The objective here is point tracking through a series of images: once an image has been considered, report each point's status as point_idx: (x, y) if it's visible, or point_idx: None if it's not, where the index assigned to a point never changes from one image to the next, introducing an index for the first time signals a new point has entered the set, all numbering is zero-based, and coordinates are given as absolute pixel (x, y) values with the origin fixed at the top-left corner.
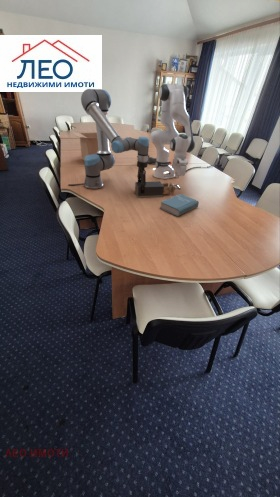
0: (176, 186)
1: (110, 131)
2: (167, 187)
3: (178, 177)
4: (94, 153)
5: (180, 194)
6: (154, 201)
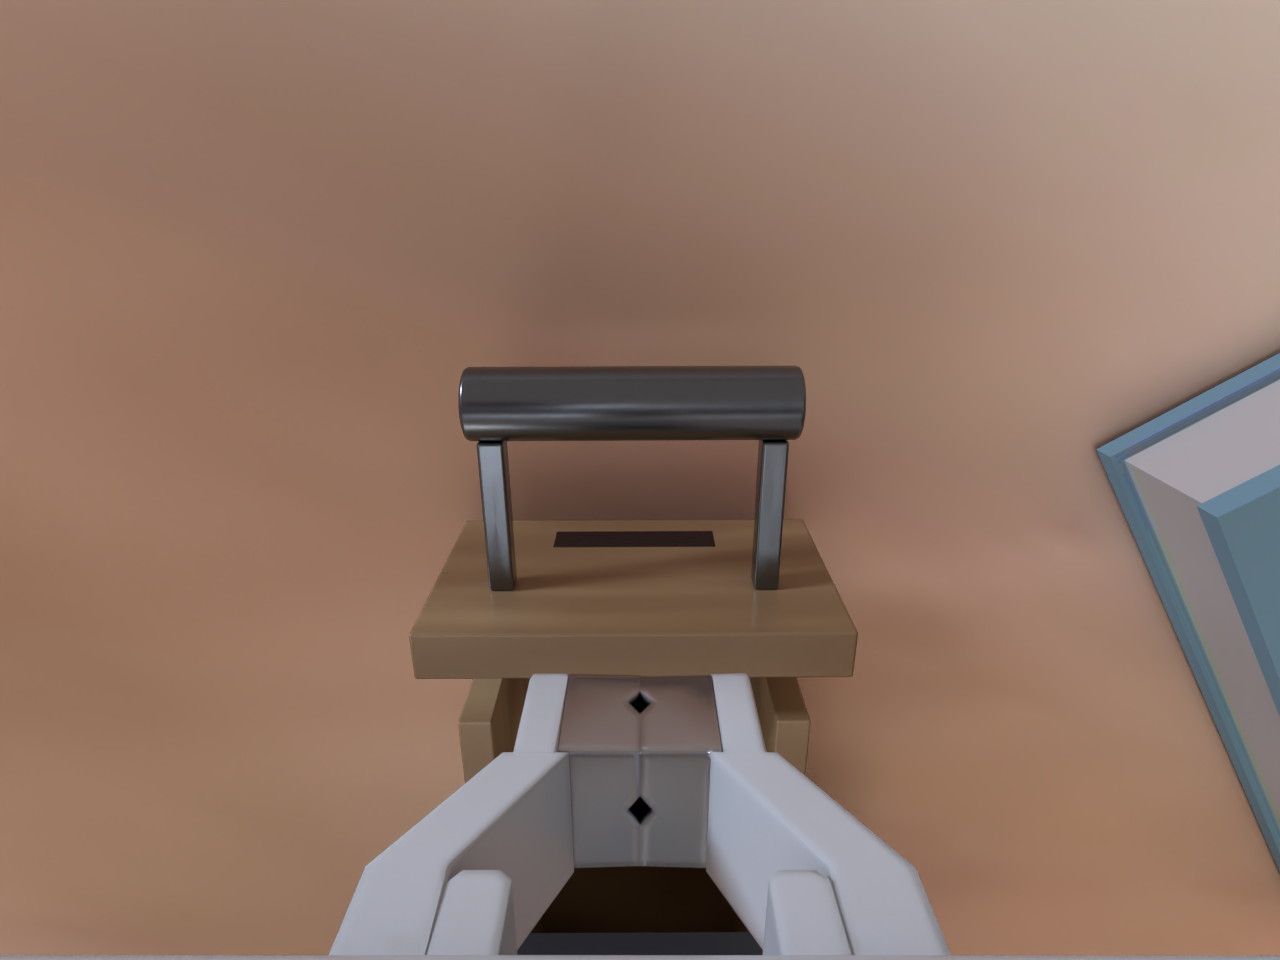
0: (573, 438)
1: None
2: None
3: (754, 701)
4: None
5: (1250, 544)
6: (987, 925)
